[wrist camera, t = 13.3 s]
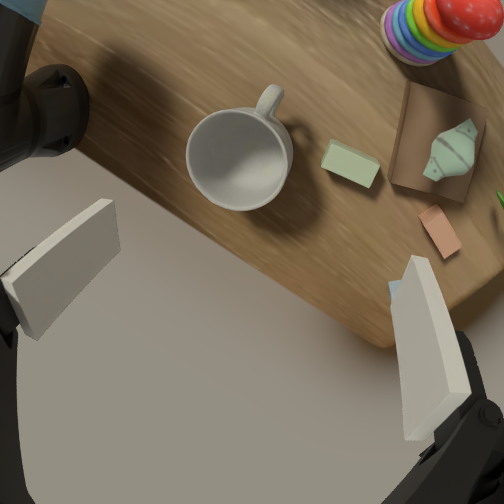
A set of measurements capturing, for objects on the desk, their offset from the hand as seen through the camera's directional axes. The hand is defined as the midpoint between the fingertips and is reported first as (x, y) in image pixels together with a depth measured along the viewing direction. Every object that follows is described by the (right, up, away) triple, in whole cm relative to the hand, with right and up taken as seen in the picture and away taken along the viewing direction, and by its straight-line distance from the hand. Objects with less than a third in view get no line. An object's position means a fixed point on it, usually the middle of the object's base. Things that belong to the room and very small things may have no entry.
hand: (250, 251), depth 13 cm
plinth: (+22, +13, +18) cm, 31 cm away
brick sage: (+12, +11, +23) cm, 28 cm away
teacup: (+1, +14, +24) cm, 27 cm away
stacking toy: (+18, +24, +13) cm, 33 cm away
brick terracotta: (+24, +4, +24) cm, 34 cm away
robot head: (+21, +12, +16) cm, 29 cm away
